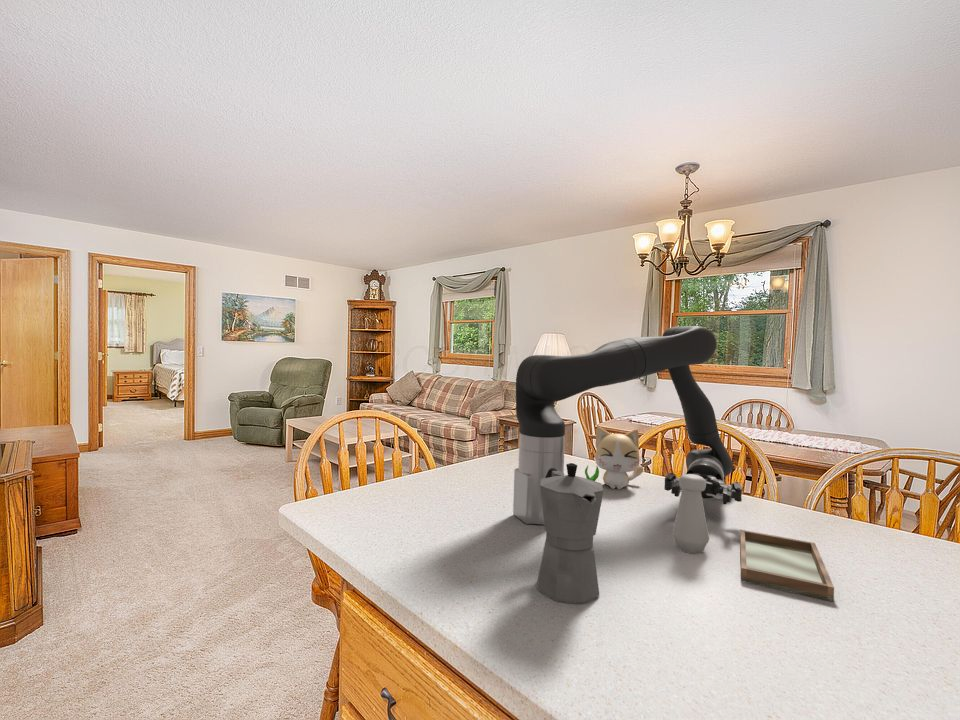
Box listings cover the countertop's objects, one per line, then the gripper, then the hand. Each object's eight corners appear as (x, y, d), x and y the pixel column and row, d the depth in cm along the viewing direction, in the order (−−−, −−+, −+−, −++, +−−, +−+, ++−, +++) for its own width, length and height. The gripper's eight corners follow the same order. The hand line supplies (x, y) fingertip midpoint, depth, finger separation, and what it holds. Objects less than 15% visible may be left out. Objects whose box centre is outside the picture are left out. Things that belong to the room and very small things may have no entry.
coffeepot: (621, 609, 63) (625, 474, 62) (554, 616, 60) (558, 476, 60) (572, 559, 78) (576, 450, 77) (517, 563, 76) (521, 451, 75)
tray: (833, 601, 66) (834, 587, 66) (740, 580, 72) (741, 567, 72) (814, 554, 82) (814, 542, 82) (739, 540, 88) (740, 529, 88)
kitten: (583, 488, 119) (585, 429, 118) (584, 478, 128) (586, 423, 128) (646, 494, 115) (648, 433, 115) (642, 483, 125) (644, 427, 125)
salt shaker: (708, 546, 84) (711, 474, 84) (708, 558, 79) (711, 481, 79) (672, 540, 87) (675, 469, 87) (671, 551, 82) (674, 477, 81)
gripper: (671, 456, 109) (661, 470, 95) (741, 464, 102) (742, 481, 88) (670, 488, 109) (660, 507, 95) (740, 499, 103) (741, 521, 88)
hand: (700, 495), depth 92 cm, fingers open, 8 cm apart
